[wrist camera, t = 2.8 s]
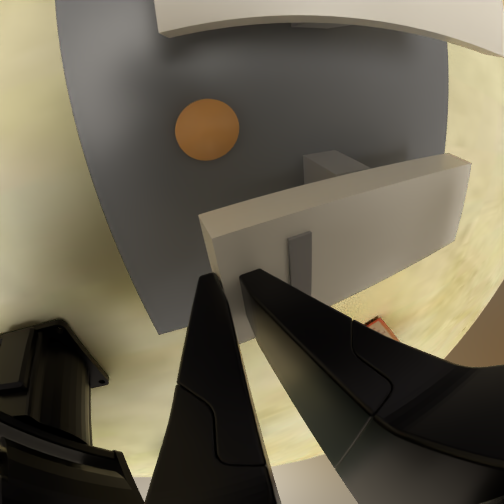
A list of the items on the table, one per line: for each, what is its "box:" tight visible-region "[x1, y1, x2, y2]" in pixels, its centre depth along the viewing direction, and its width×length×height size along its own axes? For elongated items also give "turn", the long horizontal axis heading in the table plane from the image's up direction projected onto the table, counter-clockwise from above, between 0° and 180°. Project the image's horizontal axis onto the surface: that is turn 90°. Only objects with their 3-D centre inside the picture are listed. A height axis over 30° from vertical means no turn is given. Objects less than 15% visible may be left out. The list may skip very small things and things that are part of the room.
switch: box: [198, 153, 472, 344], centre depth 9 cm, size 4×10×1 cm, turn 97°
